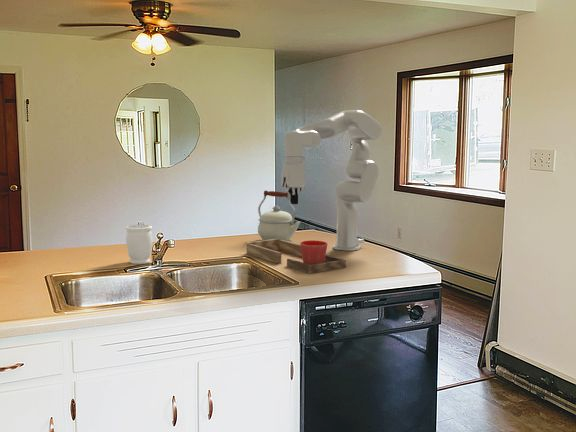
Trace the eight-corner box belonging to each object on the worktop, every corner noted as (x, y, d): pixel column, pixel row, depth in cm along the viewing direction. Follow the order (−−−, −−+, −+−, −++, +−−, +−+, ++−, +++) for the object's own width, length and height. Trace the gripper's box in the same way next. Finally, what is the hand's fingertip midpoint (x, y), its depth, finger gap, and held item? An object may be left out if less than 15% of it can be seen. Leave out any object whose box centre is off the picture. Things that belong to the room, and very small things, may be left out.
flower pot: (324, 270, 233) (325, 245, 232) (297, 268, 236) (297, 244, 234) (328, 264, 244) (329, 241, 242) (302, 262, 246) (303, 239, 245)
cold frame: (279, 249, 274) (279, 238, 274) (313, 258, 255) (313, 246, 254) (246, 253, 263) (246, 242, 263) (279, 263, 244) (279, 251, 243)
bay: (321, 260, 250) (321, 253, 250) (346, 267, 238) (346, 260, 238) (286, 266, 239) (286, 258, 239) (310, 273, 227) (310, 265, 227)
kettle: (247, 241, 293) (247, 191, 289) (269, 236, 308) (269, 188, 304) (289, 247, 279) (289, 194, 275) (310, 241, 294) (310, 191, 290)
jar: (157, 260, 247) (157, 225, 245) (144, 265, 238) (143, 229, 235) (135, 258, 251) (134, 223, 249) (121, 263, 241) (120, 227, 239)
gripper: (302, 159, 256) (302, 201, 259) (274, 160, 247) (274, 204, 249) (313, 160, 250) (313, 203, 253) (285, 161, 241) (285, 206, 244)
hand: (294, 203), depth 251 cm, fingers closed
